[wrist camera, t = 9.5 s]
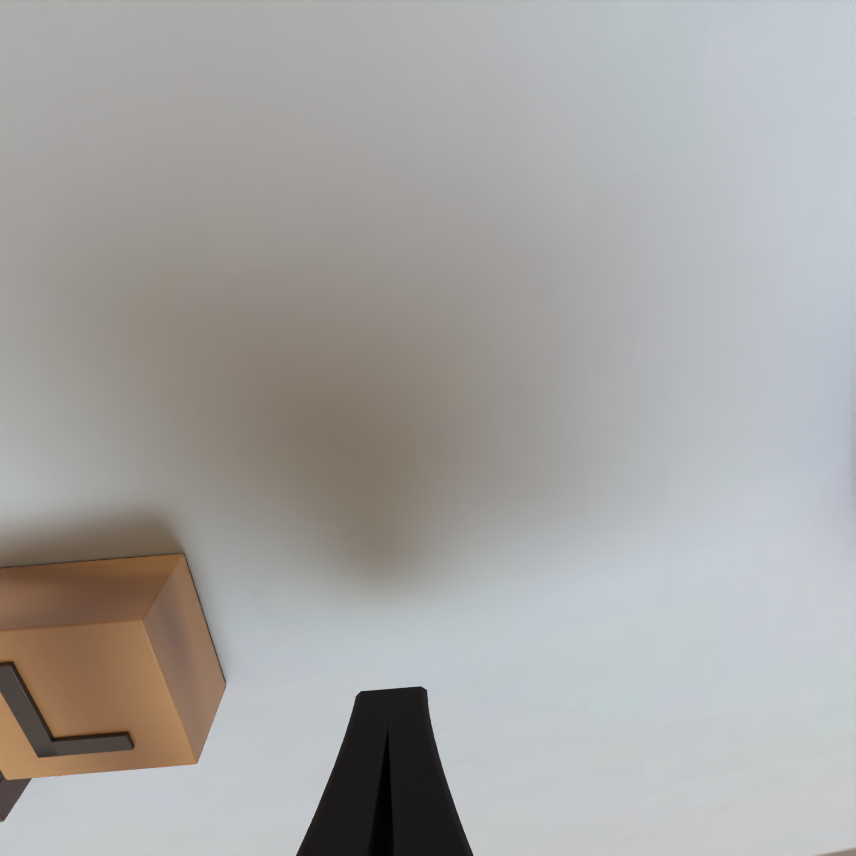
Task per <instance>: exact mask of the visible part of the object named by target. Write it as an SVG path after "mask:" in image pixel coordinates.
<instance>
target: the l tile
mask: <svg viewBox="0 0 856 856" xmlns="http://www.w3.org/2000/svg"><path fill="white" fill-rule="evenodd" d="M225 688H226V685H225V682H224V679H223V675H222V672H221V669H220V666H219V663H218V660H217V657H216V653H215V650H214V647H213V644H212V641H211V638H210V635H209V631H208V628H207V625H206V622H205V619H204V616H203V613H202V610H201V606H200V603H199V600H198V597H197V594H196V591H195V588H194V584H193V581H192V578H191V575H190V572H189V569H188V566H187V562H186V559H185V556H184V554H172V555H159V556H147V557H134V558H122V559H109V560H97V561H84V562H72V563H59V564H47V565H34V566H22V567H9V568H0V770H1V772H2V774H3V775H4V777H5V778H6V779H7V780H14V779H26V778H38V777H50V776H61V775H73V774H85V773H97V772H109V771H121V770H133V769H145V768H157V767H169V766H181V765H192V764H197V763H198V760H199V758H200V755H201V752H202V750H203V747H204V744H205V741H206V739H207V736H208V733H209V731H210V728H211V725H212V723H213V720H214V717H215V715H216V712H217V709H218V707H219V704H220V701H221V699H222V696H223V693H224V690H225Z"/></svg>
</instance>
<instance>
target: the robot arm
mask: <svg viewBox="0 0 856 856" xmlns="http://www.w3.org/2000/svg"><path fill="white" fill-rule="evenodd" d="M296 856H473V853H472V851H471V848H470V846H469V843H468V840H467V838H466V835H465V833H464V830H463V827H462V825H461V822H460V819H459V816H458V813H457V811H456V808H455V805H454V802H453V799H452V796H451V793H450V790H449V787H448V784H447V781H446V777H445V774H444V771H443V768H442V764H441V761H440V758H439V754H438V750H437V746H436V742H435V738H434V734H433V730H432V725H431V720H430V715H429V708H428V697H427V690H426V689H424V688H423V687H421V686H420V687H408V688H396V689H384V690H372V691H361V692H360V693H359V694H358V695H357V696H356V699H355V703H354V707H353V711H352V714H351V717H350V721H349V724H348V727H347V731H346V734H345V737H344V740H343V743H342V745H341V748H340V751H339V754H338V757H337V759H336V762H335V765H334V768H333V770H332V773H331V775H330V778H329V780H328V783H327V785H326V788H325V790H324V793H323V795H322V798H321V800H320V803H319V805H318V808H317V810H316V812H315V815H314V817H313V819H312V822H311V824H310V826H309V828H308V831H307V833H306V835H305V837H304V839H303V842H302V844H301V846H300V848H299V850H298V853H297V855H296Z"/></svg>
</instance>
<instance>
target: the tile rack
mask: <svg viewBox="0 0 856 856" xmlns="http://www.w3.org/2000/svg"><path fill="white" fill-rule="evenodd" d="M31 779H32V778H26V779H14V780H7V779H6V778H5V777H4V775H3V774H2V772H1V770H0V822H3V821H4V820H5V819H6V817H7V816H8V814H9V813H10V811H11V810H12V808H13V806H14V805H15V803H16V802H17V800H18V799H19V797H20V796H21V794H22V793H23V791H24V790H25V788H26V787H27V785H28V783H29V782H30V780H31Z"/></svg>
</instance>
